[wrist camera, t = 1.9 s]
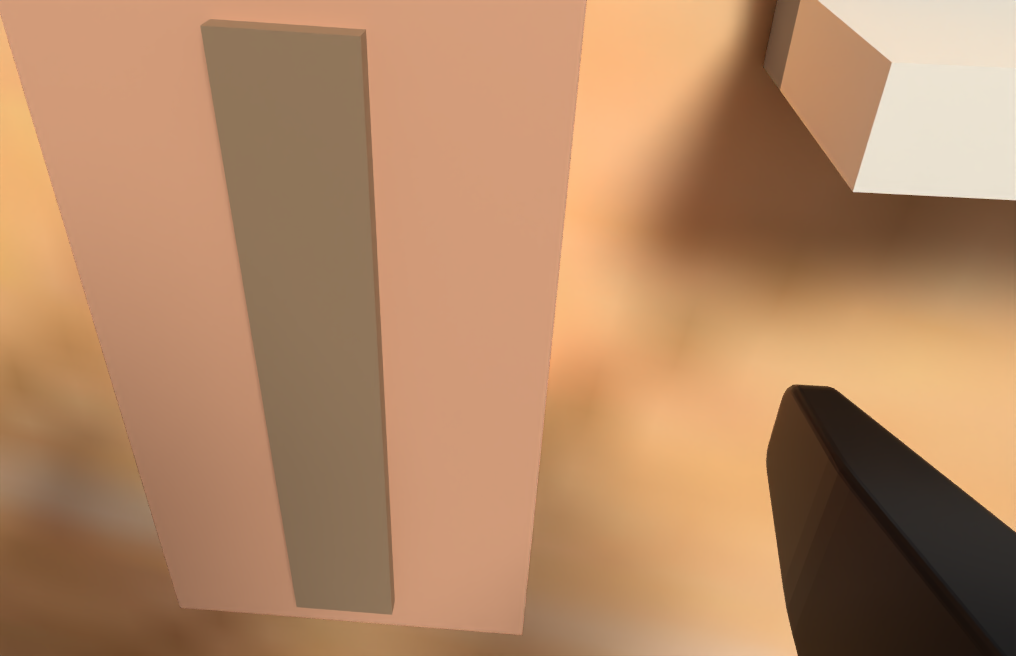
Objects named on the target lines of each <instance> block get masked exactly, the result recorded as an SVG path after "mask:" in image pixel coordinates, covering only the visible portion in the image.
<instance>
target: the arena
mask: <svg viewBox="0 0 1016 656" xmlns="http://www.w3.org/2000/svg"><path fill="white" fill-rule="evenodd" d="M763 68H764V69H765V70H766V72H767V73H768V74H769V76H770V77H771V79H772V80H773V81H774V83H775V84H776V86H777V87H778V88H779V90H780V91H781V93H782V94H783V95H784V97H785V98H786V100H787V101H788V102H789V104H790V105H791V107H792V108H793V109H794V111H795V112H796V114H797V115H798V116H799V118H800V119H801V120H802V122H803V123H804V125H805V126H806V127H807V129H808V130H809V132H810V133H811V134H812V136H813V137H814V139H815V140H816V141H817V143H818V144H819V146H820V147H821V148H822V150H823V151H824V153H825V154H826V155H827V157H828V158H829V159H830V161H831V162H832V164H833V165H834V166H835V168H836V169H837V171H838V172H839V173H840V175H841V176H842V178H843V179H844V180H845V182H846V183H847V185H848V186H849V187H850V189H851V190H852V192H864V193H883V194H903V195H923V196H942V197H962V198H982V199H1001V200H1016V0H777V3H776V8H775V13H774V18H773V22H772V27H771V32H770V36H769V41H768V46H767V51H766V55H765V60H764V65H763Z"/></svg>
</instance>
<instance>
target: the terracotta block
mask: <svg viewBox="0 0 1016 656" xmlns="http://www.w3.org/2000/svg"><path fill="white" fill-rule="evenodd" d="M586 2H587V0H0V15H1V18H2V21H3V25H4V28H5V31H6V34H7V38H8V41H9V44H10V48H11V51H12V54H13V58H14V61H15V64H16V68H17V71H18V74H19V77H20V81H21V84H22V87H23V91H24V94H25V97H26V101H27V104H28V107H29V110H30V114H31V117H32V120H33V124H34V127H35V130H36V134H37V137H38V140H39V144H40V147H41V150H42V153H43V157H44V160H45V163H46V167H47V170H48V173H49V177H50V180H51V183H52V187H53V190H54V193H55V196H56V200H57V203H58V206H59V210H60V213H61V216H62V220H63V223H64V226H65V229H66V233H67V236H68V239H69V243H70V246H71V249H72V253H73V256H74V259H75V263H76V266H77V269H78V272H79V276H80V279H81V282H82V286H83V289H84V292H85V296H86V299H87V302H88V305H89V309H90V312H91V315H92V319H93V322H94V325H95V329H96V332H97V335H98V339H99V342H100V345H101V348H102V352H103V355H104V358H105V362H106V365H107V368H108V372H109V375H110V378H111V381H112V385H113V388H114V391H115V395H116V398H117V401H118V405H119V408H120V411H121V415H122V418H123V421H124V424H125V428H126V431H127V434H128V438H129V441H130V444H131V448H132V451H133V454H134V457H135V461H136V464H137V467H138V471H139V474H140V477H141V481H142V484H143V487H144V491H145V494H146V497H147V500H148V504H149V507H150V510H151V514H152V517H153V520H154V524H155V527H156V530H157V534H158V537H159V540H160V543H161V547H162V550H163V553H164V557H165V560H166V563H167V567H168V570H169V573H170V576H171V580H172V583H173V586H174V590H175V593H176V596H177V600H178V603H179V606H180V608H191V609H203V610H216V611H228V612H241V613H253V614H266V615H278V616H290V617H303V618H315V619H328V620H340V621H353V622H365V623H378V624H390V625H402V626H415V627H427V628H440V629H452V630H465V631H477V632H490V633H502V634H514V635H522V632H523V622H524V612H525V602H526V592H527V582H528V573H529V563H530V553H531V543H532V533H533V523H534V514H535V504H536V494H537V484H538V474H539V464H540V454H541V445H542V435H543V425H544V415H545V405H546V395H547V386H548V376H549V366H550V356H551V346H552V336H553V327H554V317H555V307H556V297H557V287H558V277H559V267H560V258H561V248H562V238H563V228H564V218H565V208H566V199H567V189H568V179H569V169H570V159H571V149H572V140H573V130H574V120H575V110H576V100H577V90H578V80H579V71H580V61H581V51H582V41H583V31H584V21H585V12H586Z"/></svg>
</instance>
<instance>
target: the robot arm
mask: <svg viewBox="0 0 1016 656" xmlns="http://www.w3.org/2000/svg"><path fill="white" fill-rule="evenodd" d="M766 467H767V476H768V483H769V490H770V498H771V505H772V512H773V519H774V526H775V533H776V540H777V548H778V555H779V562H780V569H781V576H782V583H783V590H784V596H785V602H786V608H787V613H788V617H789V622H790V626H791V630H792V635H793V638H794V642H795V646H796V650H797V654H798V656H1016V532H1015V531H1013V530H1012V529H1011V528H1010V527H1008V526H1007V525H1006V524H1005V523H1003V522H1002V521H1001V520H1000V519H998V518H997V517H996V516H995V515H993V514H992V513H991V512H990V511H988V510H987V509H986V508H985V507H983V506H982V505H981V504H979V503H978V502H977V501H976V500H974V499H973V498H972V497H971V496H969V495H968V494H967V493H966V492H964V491H963V490H962V489H961V488H959V487H958V486H957V485H956V484H954V483H953V482H952V481H951V480H949V479H948V478H947V477H945V476H944V475H943V474H942V473H940V472H939V471H938V470H937V469H935V468H934V467H933V466H932V465H930V464H929V463H928V462H927V461H925V460H924V459H923V458H922V457H920V456H919V455H918V454H917V453H915V452H914V451H913V450H911V449H910V448H909V447H908V446H906V445H905V444H904V443H903V442H901V441H900V440H899V439H898V438H896V437H895V436H894V435H893V434H891V433H890V432H889V431H888V430H886V429H885V428H884V427H883V426H881V425H880V424H879V423H877V422H876V421H875V420H874V419H872V418H871V417H870V416H869V415H867V414H866V413H865V412H864V411H862V410H861V409H860V408H859V407H857V406H856V405H855V404H854V403H852V402H851V401H850V400H849V399H847V398H846V397H845V396H843V395H842V394H841V393H840V392H838V391H837V390H835V389H834V388H831V387H828V386H812V385H792V386H791V387H789V388H787V390H786V391H785V393H784V395H783V397H782V400H781V404H780V407H779V411H778V414H777V417H776V421H775V424H774V427H773V431H772V434H771V438H770V441H769V444H768V449H767V458H766Z"/></svg>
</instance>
